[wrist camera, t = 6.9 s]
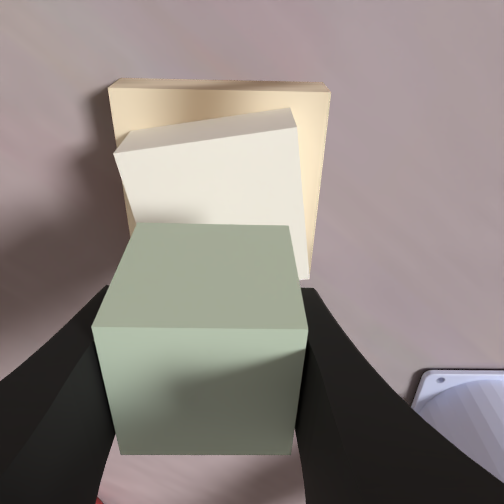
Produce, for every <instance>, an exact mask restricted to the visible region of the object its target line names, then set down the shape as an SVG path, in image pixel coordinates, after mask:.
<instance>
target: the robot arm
mask: <svg viewBox="0 0 504 504" xmlns="http://www.w3.org/2000/svg"><path fill="white" fill-rule="evenodd" d="M109 286H110V285H106V286H105V287H104V288H103V289H102V290H101V291H100V292H98V293H97V294H96V295H95V296H94V297H93V298H92V299H91V300H90V301H89V302H88V303H87V304H86V305H85V306H84V307H83V308H82V309H81V310H80V311H79V312H78V313H77V314H76V315H75V316H74V317H73V318H72V319H71V320H70V321H69V322H68V323H67V324H66V325H65V326H64V327H63V328H61V329H60V330H59V331H58V332H57V333H56V334H55V335H54V336H53V337H52V338H51V339H50V340H49V341H48V342H46V343H45V344H44V345H43V346H42V347H41V348H40V349H39V350H37V351H36V352H35V353H34V354H33V355H32V356H30V357H29V358H28V359H27V360H26V361H25V362H23V363H22V364H21V365H20V366H19V367H18V368H16V369H15V370H14V371H13V372H11V373H10V374H9V375H8V376H6V377H5V378H4V379H2V380H1V381H0V504H95V503H96V499H97V495H98V490H99V486H100V482H101V478H102V475H103V471H104V468H105V464H106V461H107V458H108V455H109V452H110V449H111V446H112V443H113V440H114V437H115V434H116V432H115V428H114V424H113V419H112V415H111V410H110V406H109V402H108V397H107V393H106V389H105V384H104V380H103V376H102V371H101V367H100V362H99V358H98V354H97V349H96V345H95V341H94V336H93V332H92V328H91V327H92V324H93V322H94V320H95V318H96V315H97V313H98V311H99V308H100V306H101V304H102V302H103V299H104V297H105V295H106V293H107V290H108V288H109ZM301 293H302V298H303V304H304V309H305V314H306V320H307V325H308V336H307V343H306V350H305V357H304V364H303V372H302V379H301V386H300V393H299V400H298V407H297V414H296V422H295V432H296V437H297V442H298V448H299V453H300V459H301V464H302V471H303V478H304V486H305V497H306V504H504V371H503V370H429V371H426V372H425V373H424V374H423V375H422V378H421V381H420V383H419V386H418V389H417V392H416V395H415V397H414V400H413V403H412V406H411V407H410V406H409V405H408V404H407V403H406V402H405V401H404V400H403V399H402V398H401V397H400V396H399V395H398V394H397V393H396V392H395V391H394V390H393V389H392V388H391V387H390V386H389V385H388V384H387V383H386V382H385V380H384V379H383V378H382V377H381V376H380V375H379V374H378V373H377V372H376V370H375V369H374V368H373V367H372V366H371V365H370V364H369V362H368V361H367V360H366V359H365V358H364V356H363V355H362V354H361V353H360V352H359V350H358V349H357V348H356V347H355V345H354V344H353V343H352V341H351V340H350V339H349V337H348V336H347V335H346V334H345V332H344V331H343V330H342V328H341V327H340V325H339V324H338V323H337V321H336V320H335V318H334V317H333V316H332V314H331V313H330V311H329V310H328V308H327V307H326V305H325V304H324V302H323V300H322V299H321V297H320V296H319V294H318V292H317V291H316V290H315V289H314V288H301Z"/></svg>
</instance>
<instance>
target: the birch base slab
mask: <svg viewBox="0 0 504 504" xmlns="http://www.w3.org/2000/svg"><path fill="white" fill-rule="evenodd" d="M108 93H109V100H110V106H111V113H112V120H113V126H114V133H115V139H116V146H117V148H118V147H119V145H120V144H121V143H122V142H123V140H124V139H125V138H126V136H127V135H128V134H129V132H130V131H132V130H139V129H146V128H153V127H160V126H167V125H173V124H180V123H187V122H194V121H201V120H207V119H214V118H221V117H228V116H235V115H241V114H248V113H255V112H262V111H269V110H276V109H282V108H289V107H290V108H291V111H292V114H293V117H294V120H295V123H296V125H297V132H298V144H299V156H300V168H301V180H302V192H303V204H304V216H305V228H306V240H307V252H308V264H309V274H310V268H311V260H312V251H313V242H314V234H315V225H316V217H317V208H318V200H319V191H320V183H321V174H322V166H323V157H324V148H325V140H326V131H327V123H328V114H329V106H330V97H331V92H330V90H329V89H328V88H327V87H326V86H325V84H324V83H323V82H286V81H238V80H190V79H142V78H120V79H119V80H117V81H116V82H115V83H113V84H112V85H111V86H109V87H108ZM122 186H123V192H124V199H125V206H126V212H127V219H128V226H129V232H130V238H131V236H132V233H133V231H134V229H135V227H136V221H135V218H134V215H133V212H132V209H131V206H130V203H129V200H128V197H127V194H126V191H125V188H124V185H123V182H122Z"/></svg>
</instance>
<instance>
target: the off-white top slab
mask: <svg viewBox="0 0 504 504" xmlns="http://www.w3.org/2000/svg"><path fill="white" fill-rule="evenodd" d="M113 154H114V157H115V160H116V163H117V166H118V170H119V173H120V176H121V179H122V182H123V185H124V188H125V191H126V194H127V197H128V200H129V203H130V206H131V209H132V212H133V215H134V218H135V221H136V224H137V223H183V224H234V225H285V226H289V230H290V235H291V240H292V246H293V251H294V256H295V262H296V267H297V272H298V277H299V280H304V279H310V277H309V264H308V252H307V240H306V228H305V216H304V204H303V192H302V180H301V168H300V156H299V144H298V132H297V125H296V123H295V120H294V117H293V114H292V111H291V108H290V107H289V108H282V109H276V110H269V111H262V112H255V113H248V114H241V115H235V116H228V117H221V118H214V119H207V120H201V121H194V122H187V123H180V124H173V125H167V126H160V127H153V128H146V129H139V130H132V131H130V132H129V134H128V135H127V136H126V138H125V139H124V140H123V142H122V143H121V144H120V145H119V147H118V148H117V149H116V151H115V152H114V153H113Z"/></svg>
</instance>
